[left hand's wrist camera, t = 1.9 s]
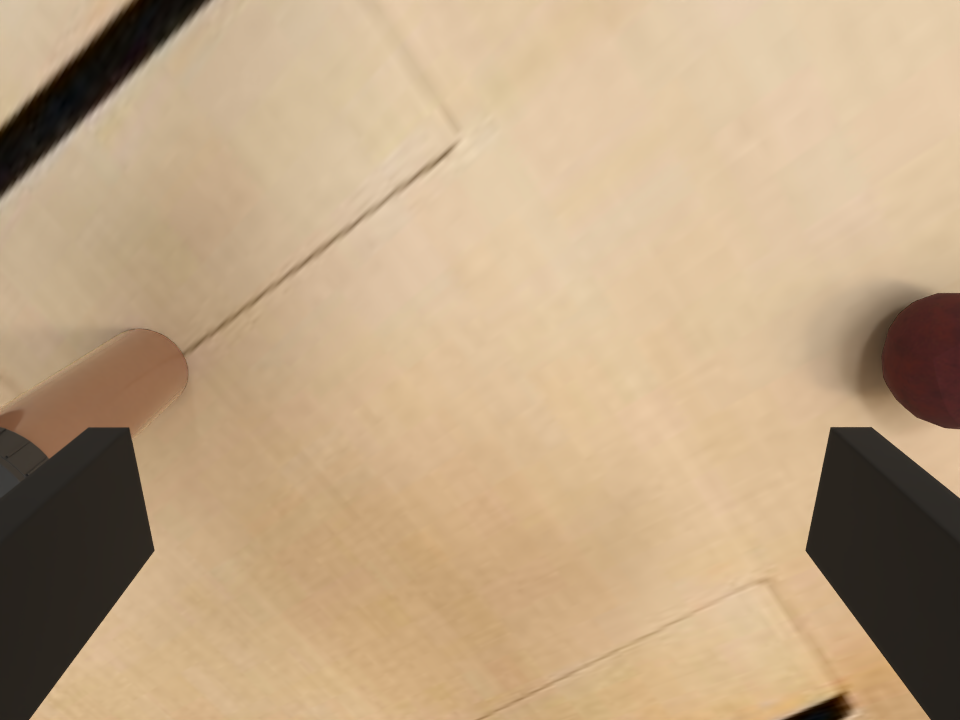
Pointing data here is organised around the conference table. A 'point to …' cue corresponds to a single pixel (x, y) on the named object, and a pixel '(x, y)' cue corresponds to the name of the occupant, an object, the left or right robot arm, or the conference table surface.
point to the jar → (101, 391)
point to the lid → (17, 459)
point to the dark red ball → (926, 359)
